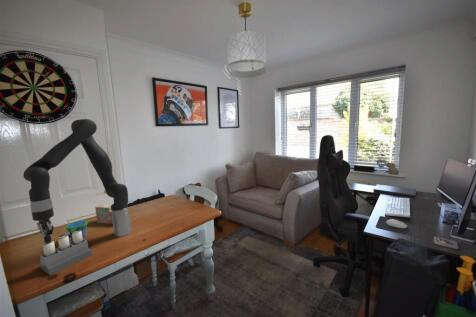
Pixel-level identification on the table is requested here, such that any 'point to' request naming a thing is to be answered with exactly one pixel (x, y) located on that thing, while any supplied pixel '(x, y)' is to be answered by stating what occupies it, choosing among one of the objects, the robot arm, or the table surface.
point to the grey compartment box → (64, 257)
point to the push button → (67, 235)
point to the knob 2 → (77, 237)
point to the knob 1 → (49, 249)
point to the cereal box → (104, 213)
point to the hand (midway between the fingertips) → (48, 242)
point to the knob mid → (63, 243)
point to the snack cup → (77, 228)
